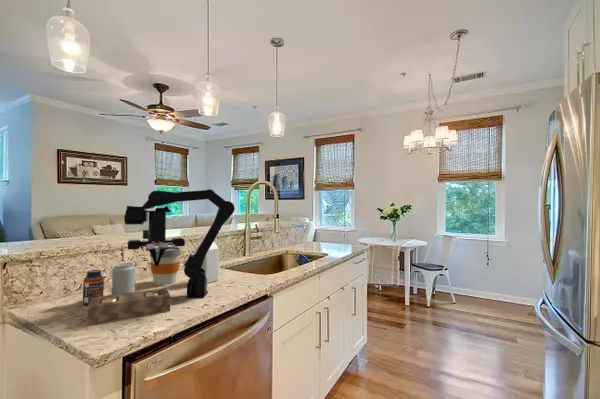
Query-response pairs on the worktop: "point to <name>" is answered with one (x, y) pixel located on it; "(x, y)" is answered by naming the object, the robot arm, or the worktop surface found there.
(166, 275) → the reusable coffee cup
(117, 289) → the can
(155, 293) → the peg
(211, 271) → the milk carton
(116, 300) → the peg
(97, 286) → the supplement bottle
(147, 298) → the walnut block
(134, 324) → the worktop surface
